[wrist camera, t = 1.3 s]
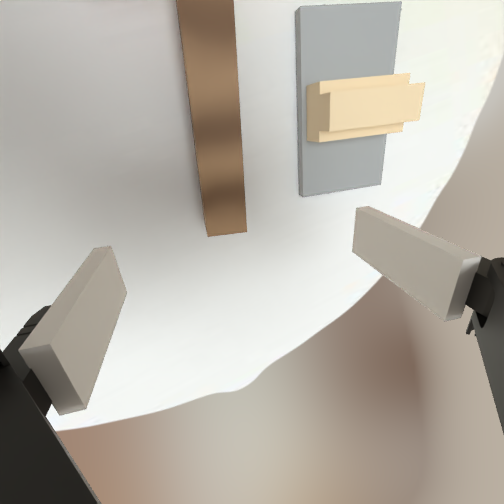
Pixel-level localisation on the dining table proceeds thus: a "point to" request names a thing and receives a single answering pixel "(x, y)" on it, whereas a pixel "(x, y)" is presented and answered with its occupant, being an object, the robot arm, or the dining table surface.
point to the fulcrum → (349, 94)
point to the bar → (215, 110)
